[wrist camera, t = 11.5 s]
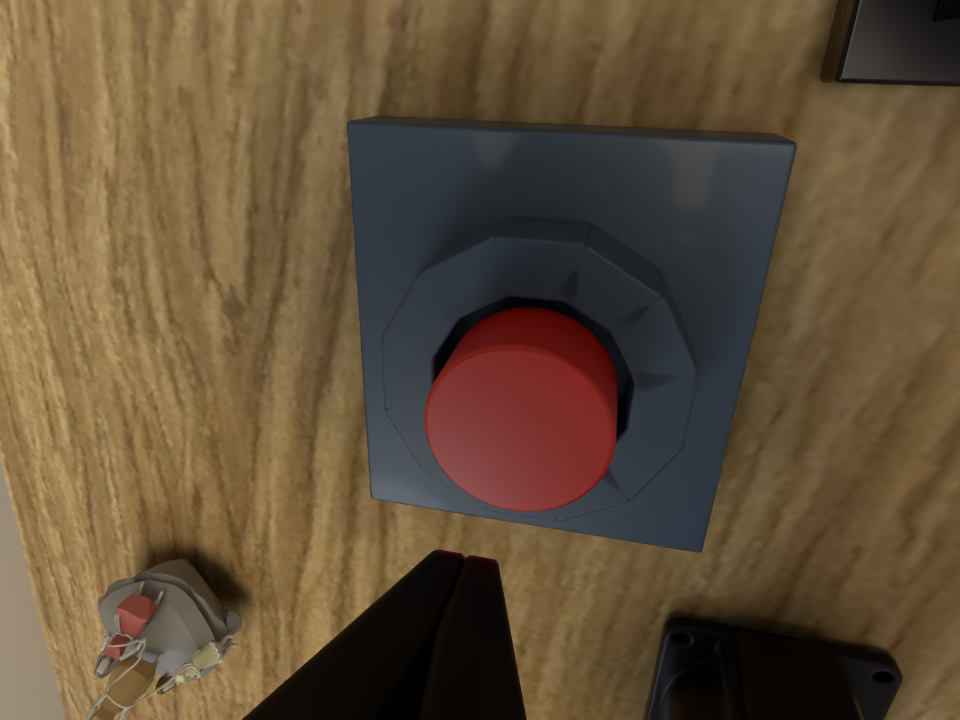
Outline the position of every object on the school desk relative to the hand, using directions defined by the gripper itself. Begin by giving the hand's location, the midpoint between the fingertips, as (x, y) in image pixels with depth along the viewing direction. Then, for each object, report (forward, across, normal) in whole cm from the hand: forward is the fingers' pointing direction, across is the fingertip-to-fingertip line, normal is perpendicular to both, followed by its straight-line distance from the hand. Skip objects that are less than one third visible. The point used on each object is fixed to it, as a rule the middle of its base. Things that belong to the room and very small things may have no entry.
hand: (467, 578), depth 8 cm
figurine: (+9, +12, +12) cm, 20 cm away
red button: (+6, 0, 0) cm, 6 cm away
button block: (+9, 0, 0) cm, 9 cm away
